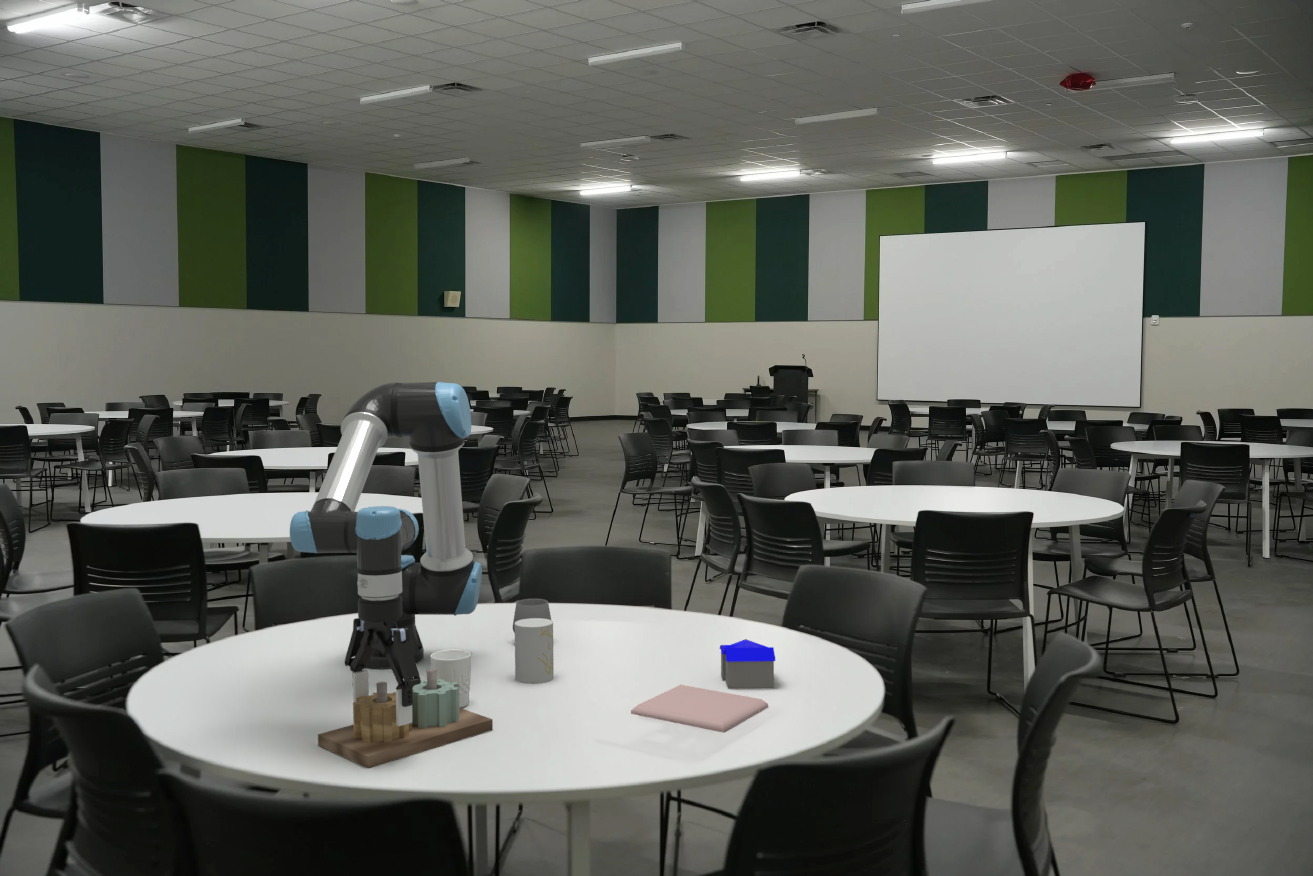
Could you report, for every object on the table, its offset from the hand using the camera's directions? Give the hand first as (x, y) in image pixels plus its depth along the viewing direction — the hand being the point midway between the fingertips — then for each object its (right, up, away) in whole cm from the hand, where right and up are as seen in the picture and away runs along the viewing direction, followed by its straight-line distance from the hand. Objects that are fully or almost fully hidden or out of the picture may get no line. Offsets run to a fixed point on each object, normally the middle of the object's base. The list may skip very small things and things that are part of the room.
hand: (382, 715), depth 193 cm
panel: (+50, -5, +14) cm, 52 cm away
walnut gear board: (+3, -5, +4) cm, 7 cm away
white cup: (+8, -4, +23) cm, 25 cm away
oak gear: (0, -3, 0) cm, 3 cm away
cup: (+18, -1, +71) cm, 73 cm away
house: (+67, -3, +38) cm, 77 cm away
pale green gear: (+7, -3, +8) cm, 11 cm away
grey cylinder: (+22, -3, +41) cm, 47 cm away
